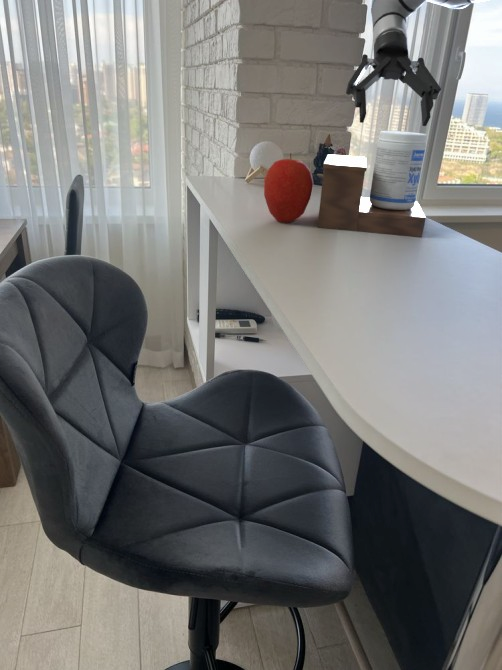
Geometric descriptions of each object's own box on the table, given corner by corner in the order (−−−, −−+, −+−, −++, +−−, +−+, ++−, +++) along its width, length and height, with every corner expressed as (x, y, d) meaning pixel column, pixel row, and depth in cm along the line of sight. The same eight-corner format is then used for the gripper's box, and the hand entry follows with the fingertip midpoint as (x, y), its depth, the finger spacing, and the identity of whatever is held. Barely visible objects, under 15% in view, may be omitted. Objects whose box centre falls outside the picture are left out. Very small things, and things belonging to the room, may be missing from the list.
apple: (314, 227, 104) (321, 156, 98) (266, 226, 103) (271, 154, 97) (303, 215, 113) (309, 150, 107) (259, 214, 112) (262, 148, 106)
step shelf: (414, 219, 116) (425, 161, 110) (421, 237, 101) (435, 172, 96) (321, 210, 119) (327, 154, 113) (316, 227, 104) (323, 163, 99)
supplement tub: (413, 213, 102) (428, 136, 96) (366, 208, 105) (377, 132, 98) (414, 204, 111) (428, 132, 104) (370, 199, 113) (381, 129, 106)
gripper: (438, 60, 118) (445, 135, 111) (332, 55, 118) (333, 129, 111) (451, 32, 111) (460, 110, 104) (338, 26, 111) (339, 103, 104)
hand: (394, 120), depth 108 cm, fingers open, 13 cm apart
